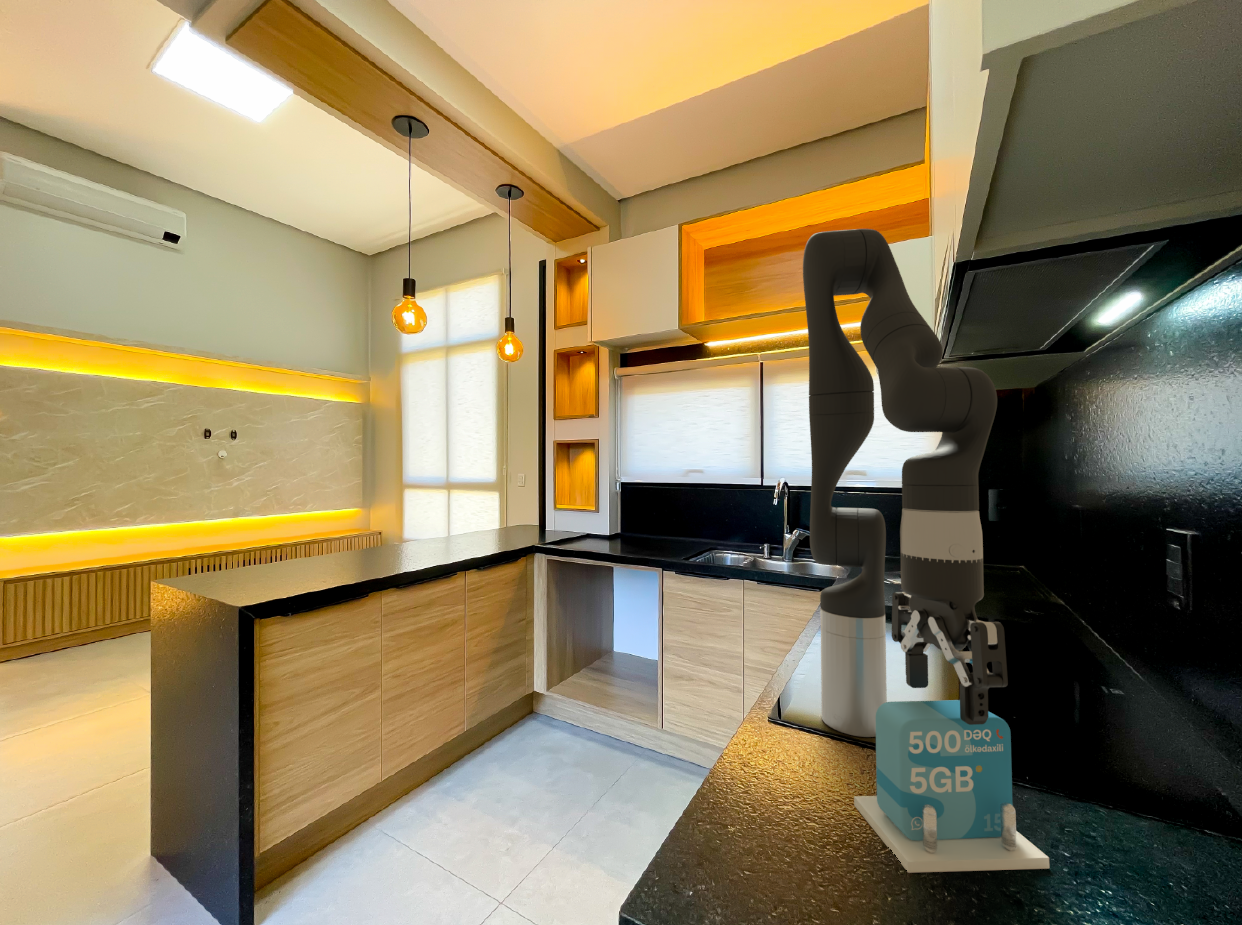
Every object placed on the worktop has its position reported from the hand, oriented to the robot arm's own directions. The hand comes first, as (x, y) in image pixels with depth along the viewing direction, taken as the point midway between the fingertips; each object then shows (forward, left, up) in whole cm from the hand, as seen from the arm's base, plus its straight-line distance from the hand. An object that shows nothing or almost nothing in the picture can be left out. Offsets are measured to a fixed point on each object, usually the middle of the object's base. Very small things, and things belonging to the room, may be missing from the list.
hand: (943, 703), depth 54 cm
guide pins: (0, 0, -14) cm, 14 cm away
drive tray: (0, 0, -14) cm, 14 cm away
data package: (+1, 0, -13) cm, 13 cm away
